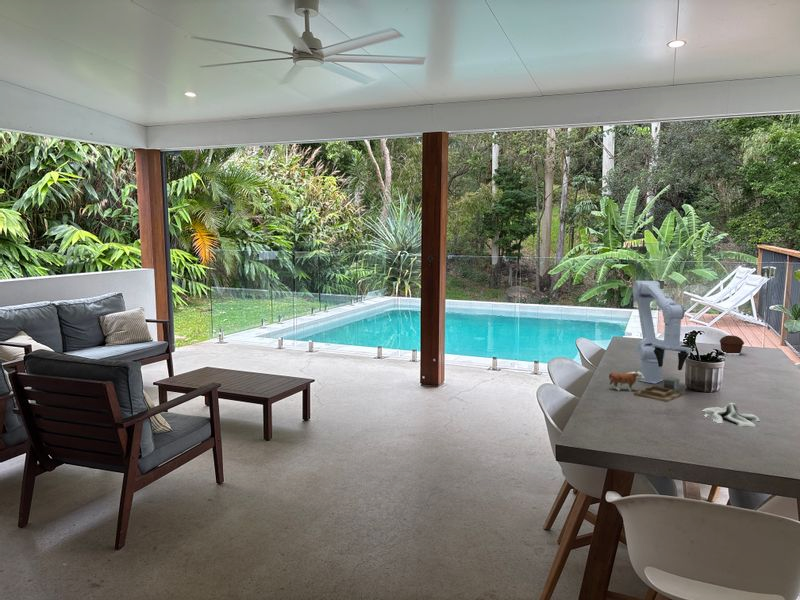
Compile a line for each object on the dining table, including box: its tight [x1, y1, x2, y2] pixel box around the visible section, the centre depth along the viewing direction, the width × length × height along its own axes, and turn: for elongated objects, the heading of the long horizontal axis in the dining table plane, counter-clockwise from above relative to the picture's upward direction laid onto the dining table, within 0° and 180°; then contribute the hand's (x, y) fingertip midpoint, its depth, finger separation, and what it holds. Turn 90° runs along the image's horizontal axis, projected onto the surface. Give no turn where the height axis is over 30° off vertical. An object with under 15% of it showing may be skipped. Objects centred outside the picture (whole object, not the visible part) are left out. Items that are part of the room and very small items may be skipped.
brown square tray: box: [633, 385, 682, 403], centre depth 226 cm, size 13×13×2 cm
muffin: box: [719, 334, 745, 353], centre depth 310 cm, size 12×11×10 cm
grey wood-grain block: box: [663, 376, 680, 393], centre depth 233 cm, size 5×4×5 cm
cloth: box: [701, 402, 761, 428], centre depth 197 cm, size 22×19×6 cm
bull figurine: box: [608, 370, 644, 392], centre depth 233 cm, size 4×13×8 cm, turn 79°
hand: (670, 368), depth 232 cm, fingers open, 7 cm apart
